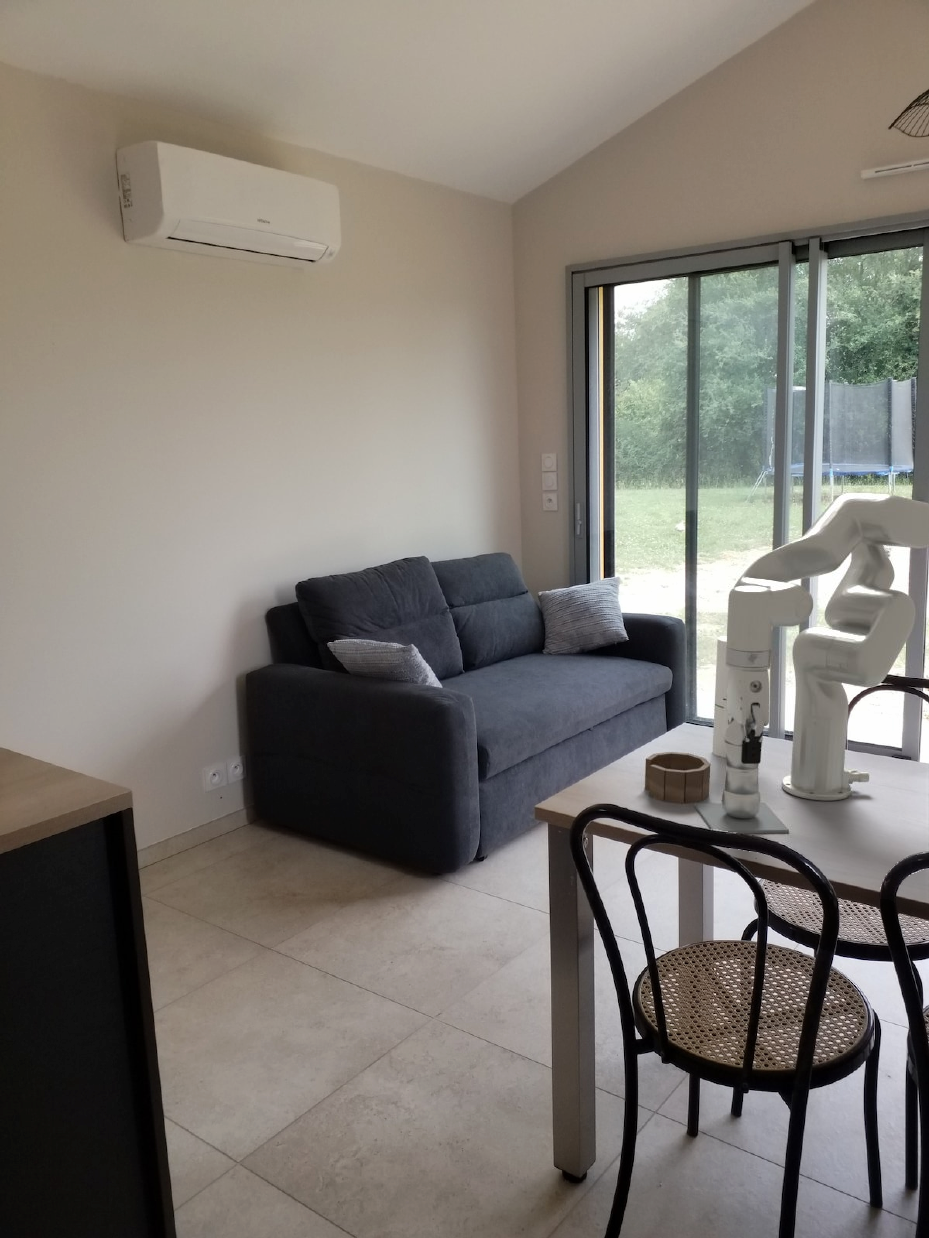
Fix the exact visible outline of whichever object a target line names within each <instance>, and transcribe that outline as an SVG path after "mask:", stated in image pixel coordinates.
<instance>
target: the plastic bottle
mask: <svg viewBox="0 0 929 1238" xmlns="http://www.w3.org/2000/svg"><path fill="white" fill-rule="evenodd" d="M747 723H754V722H753V721H747ZM751 729H754V728H748V731H749V733H750V731H751ZM763 740H764V737H763V735H762V741H763ZM724 741H725V751H726V758H725V761H726V762H725V764H726V766H725V767H726V768H725V770H726V771H725V780H724V781H725V782H724V788H723V792H722V796H721V797H722V798H721V803H722V806H723V810H724V811H725V813H726V814H727V815H729V816H732V817H736V818H752V817H755V816H756V815H757V814H758V812H759V810H760V806H761V803H762V801H761V794H760V791H759V790H760V788H759V787H760V786H759V764H760V763H759V764H743V763H742V762H741V755H742V741H745V740H744V732H743V726H742V725H740V724H739V723H738V722H737V721H736V720H735V719H734V720H733V721H732V723H731V724H730V725H729V726H728V727H727V729H726V731H725V734H724ZM762 746H763V744H762V745H761V747H762Z"/></svg>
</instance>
